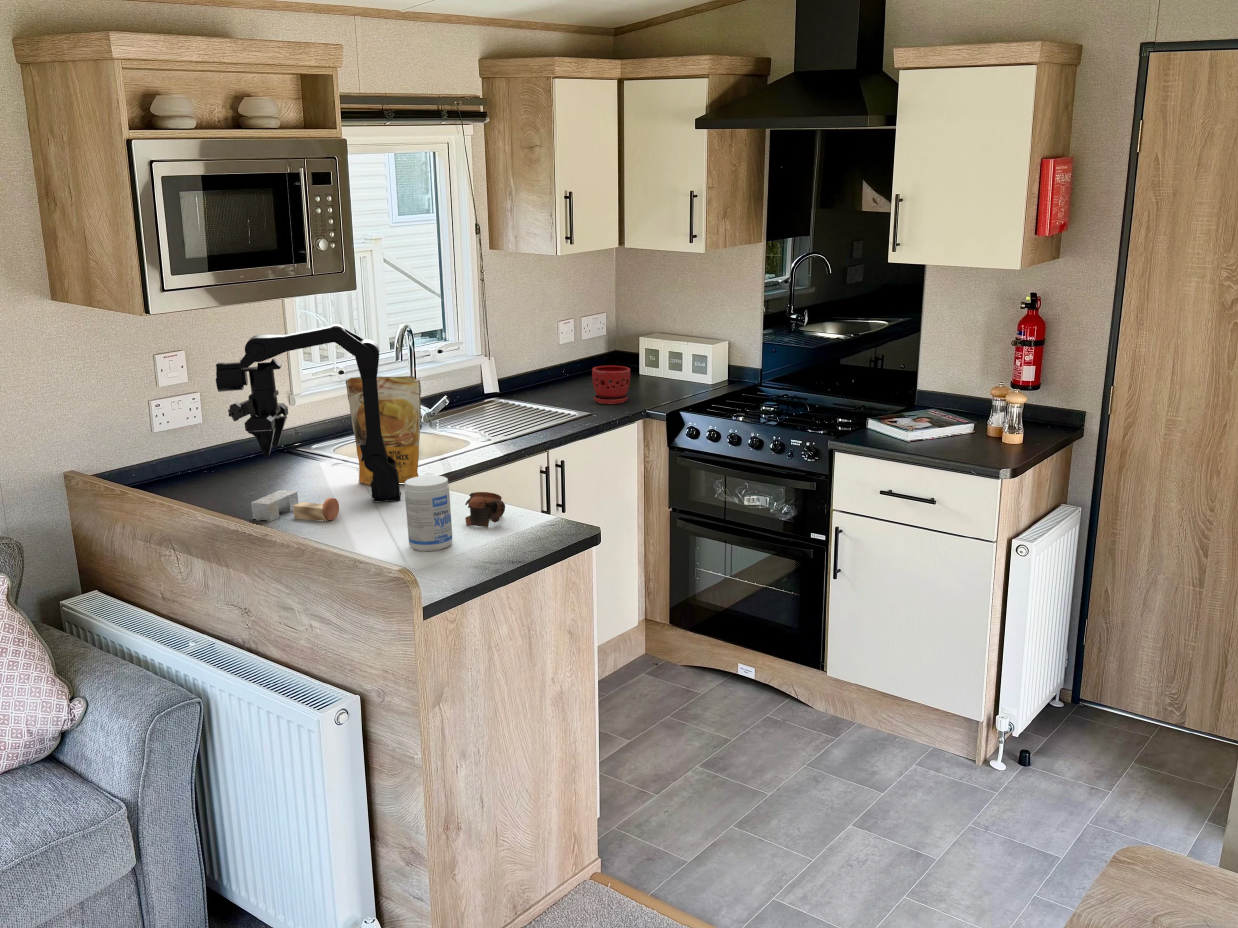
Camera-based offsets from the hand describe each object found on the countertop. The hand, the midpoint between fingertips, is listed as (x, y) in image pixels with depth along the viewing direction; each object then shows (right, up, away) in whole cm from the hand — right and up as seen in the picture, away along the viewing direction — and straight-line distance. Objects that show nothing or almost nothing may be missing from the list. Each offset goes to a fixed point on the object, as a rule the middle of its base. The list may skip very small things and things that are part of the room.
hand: (271, 451), depth 277 cm
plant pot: (+82, +18, +116) cm, 144 cm away
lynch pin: (+12, -16, -6) cm, 21 cm away
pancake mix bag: (+24, -8, +24) cm, 35 cm away
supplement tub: (+44, -21, -28) cm, 56 cm away
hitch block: (+2, -15, -2) cm, 15 cm away
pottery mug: (+54, -17, -13) cm, 58 cm away
